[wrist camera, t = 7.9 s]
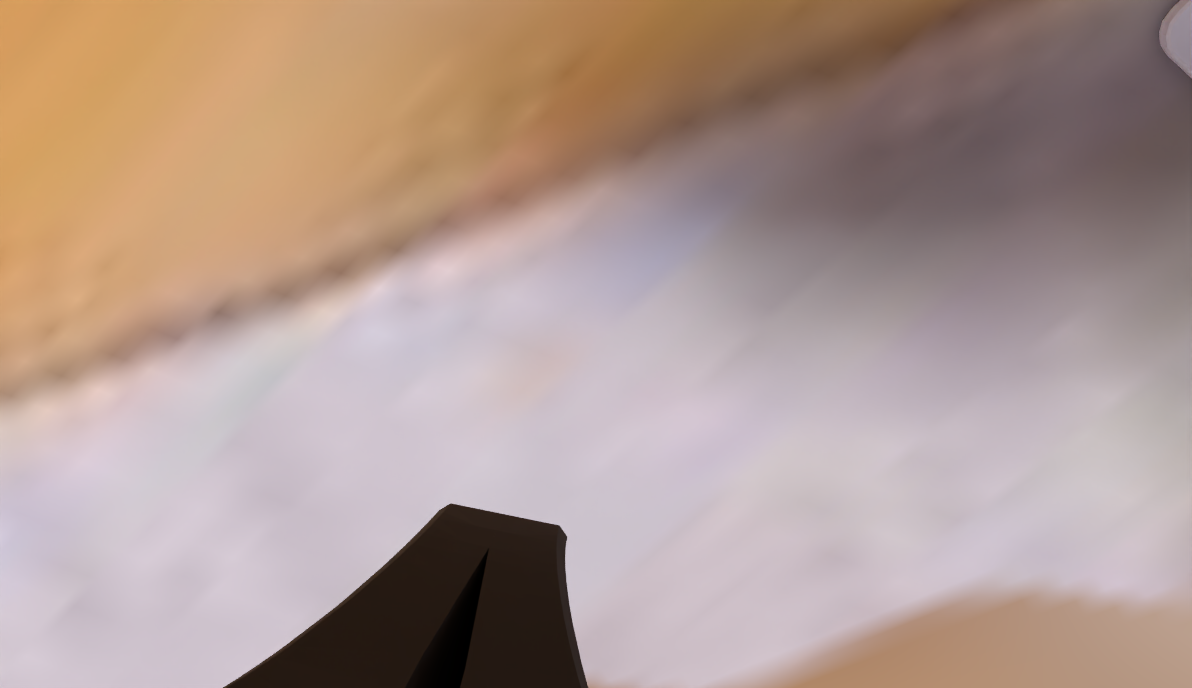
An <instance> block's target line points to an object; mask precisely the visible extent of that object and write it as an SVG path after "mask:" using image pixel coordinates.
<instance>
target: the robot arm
mask: <svg viewBox="0 0 1192 688" xmlns="http://www.w3.org/2000/svg"><path fill="white" fill-rule="evenodd" d="M1159 39H1160V45H1161V47H1162V49H1163V50H1164V52H1165V53H1166V55H1167V56H1168V57H1169V58H1170V59H1171V60H1173V61H1174V62H1175V63H1176V64H1177V65H1178V66H1179V67H1180V68H1181V69H1182V70H1183V71H1184V72H1185V73H1186V74H1187V75H1188V76H1189V77H1190V78H1191V79H1192V0H1180V1H1179V2H1178V3H1177V4H1176V5H1175V6H1174V7H1173V8H1172V9H1171V10H1170V11H1169V13H1168V14H1167V15H1166V17H1165V18H1164V19H1163V21H1162V24H1161V27H1160V31H1159ZM566 541H567V536H566V534H565V533H564V532H563V530H562V529H561V527H560V526H559V525H554V524H549V523H544V522H539V521H534V520H529V519H524V518H519V517H514V516H509V515H505V514H500V513H495V512H490V511H485V510H480V509H475V508H470V507H465V506H460V505H455V504H449V505H447V506H446V507H444V508H442V509H441V510H439V511H438V512H437V513H436V515H435V516H434V517H433V518H432V519H431V520H430V521H429V522H428V523H427V524H426V525H425V526H424V527H423V528H422V529H421V530H420V531H419V532H418V533H417V534H416V535H415V536H414V537H413V538H412V539H411V540H410V541H409V542H408V543H407V544H406V545H405V546H404V547H403V548H402V549H401V550H400V551H399V552H398V553H397V554H396V555H395V556H394V557H393V558H391V559H390V560H389V561H388V562H387V563H386V564H385V565H384V566H383V567H382V568H381V569H380V570H378V571H377V572H376V573H375V574H374V575H373V576H371V577H370V578H369V579H368V580H367V581H366V582H365V583H363V584H362V585H361V586H360V587H359V588H358V589H356V590H355V591H354V592H353V593H352V594H351V595H350V596H348V597H347V598H346V599H345V600H344V601H343V602H341V603H340V604H339V605H338V606H336V607H335V608H334V609H333V610H332V611H330V612H329V613H328V614H326V615H325V616H324V617H322V618H321V619H320V620H318V621H317V622H316V623H315V624H313V625H312V626H311V627H309V628H308V629H307V630H305V631H304V632H303V633H301V634H300V635H299V636H297V637H296V638H295V639H294V640H292V641H291V642H290V643H288V644H287V645H286V646H284V647H283V648H282V649H280V650H279V651H277V652H276V653H275V654H273V655H272V656H270V657H269V658H267V659H266V660H265V661H263V662H262V663H260V664H259V665H257V666H256V667H254V668H253V669H251V670H250V671H248V672H247V673H245V674H244V675H242V676H241V677H239V678H238V679H236V680H235V681H233V682H231V683H230V684H228V685H227V686H225V687H223V688H588V686H587V682H586V678H585V675H584V671H583V667H582V664H581V659H580V655H579V650H578V646H577V641H576V637H575V632H574V628H573V623H572V618H571V612H570V606H569V599H568V591H567V583H566V571H565V547H566Z"/></svg>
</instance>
